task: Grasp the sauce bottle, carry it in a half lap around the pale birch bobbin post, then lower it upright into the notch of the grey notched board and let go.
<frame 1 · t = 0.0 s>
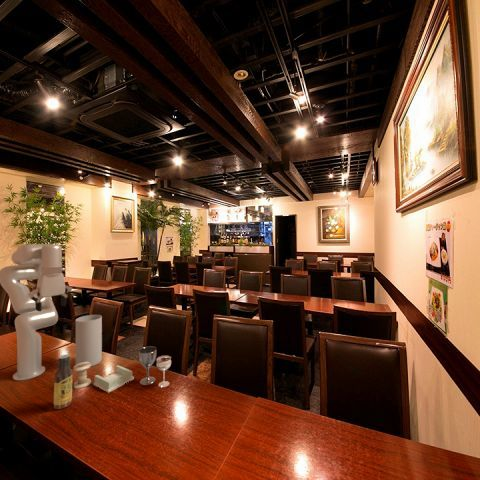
hand: (51, 308, 116), 37 cm above the table, tool pointing down, fingers open, 9 cm apart
bobbin: (82, 384, 118), on the table
wineglass: (163, 384, 119), on the table
wine glass: (147, 381, 121), on the table
cylinder vase: (88, 363, 139), on the table
sauce bottle: (63, 405, 104), on the table
notched board: (114, 381, 120), on the table
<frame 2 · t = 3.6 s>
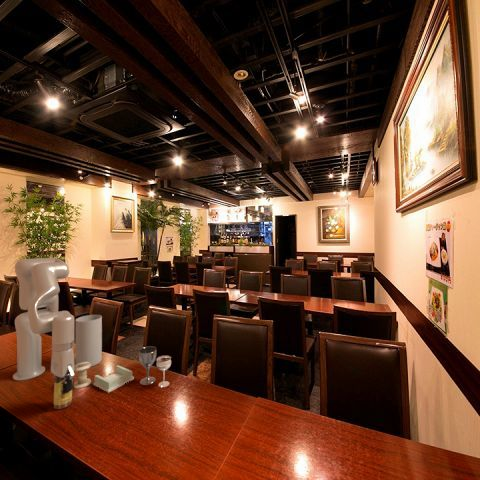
hand: (63, 388, 104), 7 cm above the table, tool pointing down, fingers closed on sauce bottle, 6 cm apart
sauce bottle: (63, 405, 104), on the table, touching gripper
everything else where it was.
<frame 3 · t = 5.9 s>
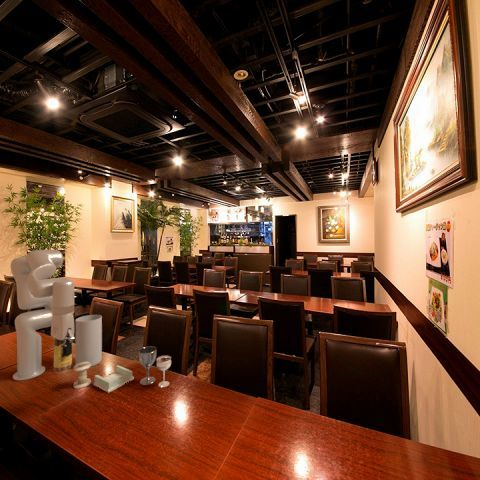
hand: (63, 352, 104), 21 cm above the table, tool pointing down, fingers closed on sauce bottle, 6 cm apart
sauce bottle: (63, 369, 104), point 14 cm above the table, touching gripper
everything else where it was.
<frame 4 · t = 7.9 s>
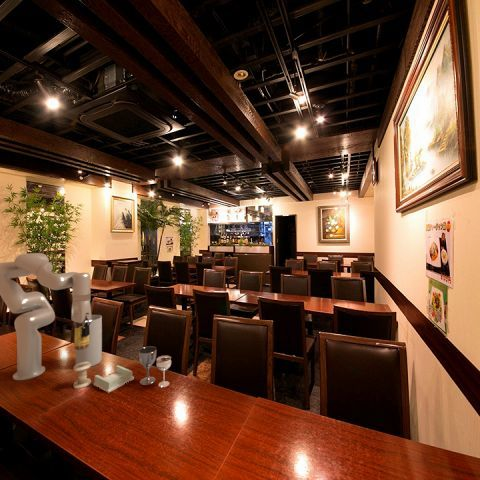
hand: (82, 334, 124), 22 cm above the table, tool pointing down, fingers closed on sauce bottle, 6 cm apart
sauce bottle: (82, 348, 123), point 15 cm above the table, touching gripper
everything else where it was.
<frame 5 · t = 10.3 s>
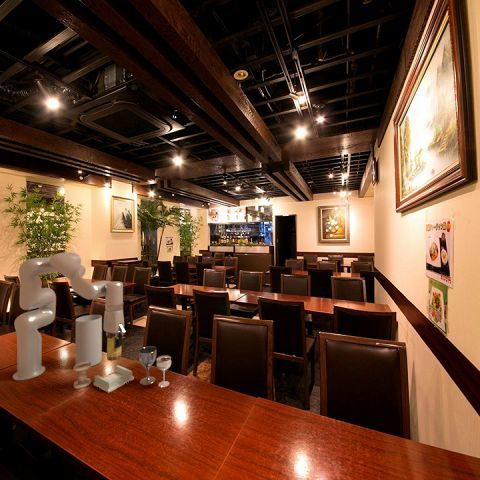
hand: (114, 344, 121), 18 cm above the table, tool pointing down, fingers closed on sauce bottle, 6 cm apart
sauce bottle: (114, 358, 121), point 11 cm above the table, touching gripper
everything else where it was.
when the fingers open (9 cm above the table, at t = 12.3 s): sauce bottle drops 1 cm, resting on notched board.
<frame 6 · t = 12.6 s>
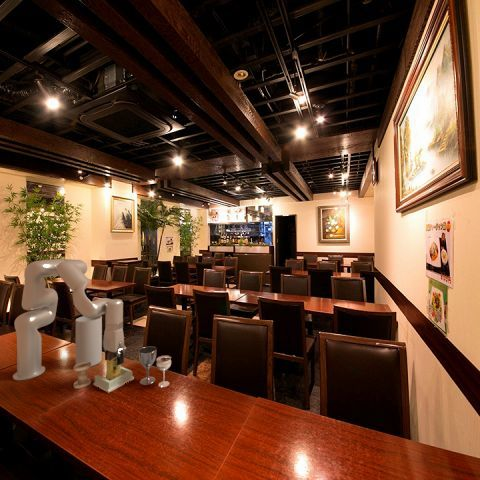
hand: (114, 361, 121), 10 cm above the table, tool pointing down, fingers open, 9 cm apart
sauce bottle: (113, 380, 121), point 1 cm above the table, touching notched board
everything else where it was.
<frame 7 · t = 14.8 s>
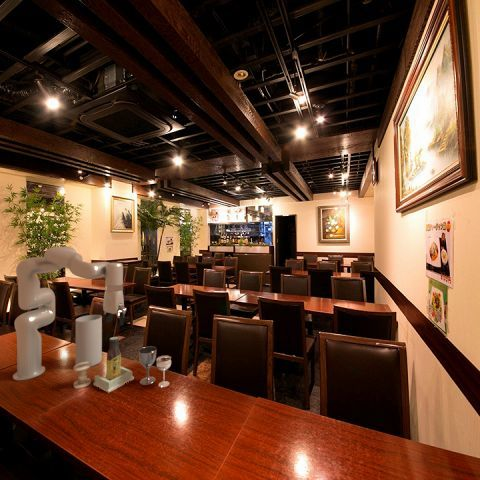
hand: (114, 323, 121), 28 cm above the table, tool pointing down, fingers open, 9 cm apart
nothing on the table moved.
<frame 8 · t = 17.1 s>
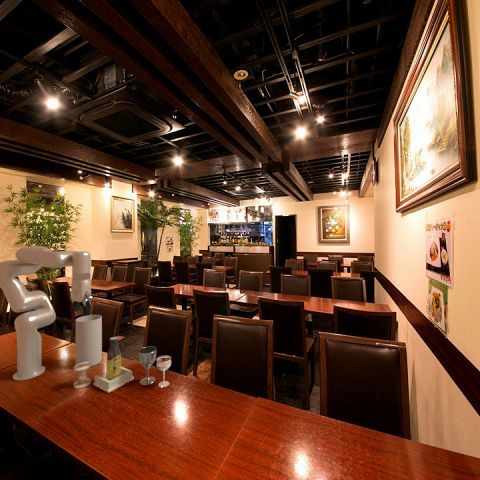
hand: (81, 312, 121), 33 cm above the table, tool pointing down, fingers open, 9 cm apart
nothing on the table moved.
at the end: sauce bottle 0.4 cm off-centre on the notched board, point 0.8 cm above the notched board's base; sauce bottle tilted 0°; the gripper is holding nothing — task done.
